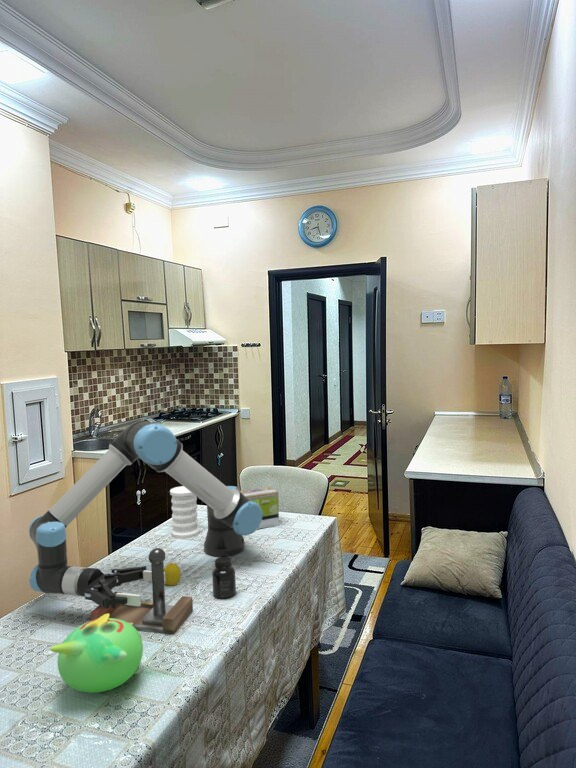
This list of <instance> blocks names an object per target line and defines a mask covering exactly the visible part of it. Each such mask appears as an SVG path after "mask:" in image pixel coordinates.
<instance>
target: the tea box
mask: <svg viewBox="0 0 576 768" xmlns="http://www.w3.org/2000/svg"><path fill="white" fill-rule="evenodd" d="M238 491H239V492H241V493H242V494H243V495H244V496H246V497H247V498H248V499H249V500H251V501H254V502H256V503H257V504H258V505H259V506H260V507H261V510H262V521H261V524H260V526H259V527H258V529H257V530H259V529H265V528H272V527H278V526H279V521H280V520H279V519H280V518H279V515H280V512H279V491H277V490H275V489H273V488H272V487H270V486H264V487H263V486H262V487H258V488H250V489H245V490H238ZM277 525H278V526H277Z"/></svg>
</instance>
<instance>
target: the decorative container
mask: <svg viewBox="0 0 576 768" xmlns="http://www.w3.org/2000/svg"><path fill="white" fill-rule="evenodd" d="M169 495H170V496H171V500H170V502H171V511H172V514H171V518H172V529H171V530H170V536H171V537H172V538H174V539H175V538H176V539H189V538H193V537H196V536H198V535H199V534H200V533H201V529H200V528H201V527H199V526H198V523H199V521H198V511H197V509H198V505H197V500H198V497H197V496H196V495H194V494H193V493H192V492H190V491H189V490H188V489H187V488H185V487H184V486H183V485H181V486H175V487H172V488H170V490H169Z"/></svg>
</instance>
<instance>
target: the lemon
mask: <svg viewBox="0 0 576 768" xmlns="http://www.w3.org/2000/svg"><path fill="white" fill-rule="evenodd" d="M164 572H165V582H164V585H166V586H167V587H168V586H169V587H171V586H172V587H173V586H176V585H179V583H180V580H181V578H182V577H181V576H182V573H181V569H180V567H179V565H178V564H177V563H174V562H170V563H168V564H166V565H165V566H164Z"/></svg>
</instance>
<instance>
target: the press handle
mask: <svg viewBox="0 0 576 768" xmlns="http://www.w3.org/2000/svg"><path fill="white" fill-rule="evenodd" d="M165 560H166V552H165V550H163V549H162V548H160V547H156V548H152V549H151V550H150V551H149V554H148V561H149V563H150V568H151V570H150V571H152V581H151V583H152V584H151V585H152V587H151V589H152V590H151V591H152V602H153V608H152V609H151V610H150V611H149V612H148V613H147V614H146V615H145V616H144V617H143V618H142V625H147V626H156V627H163V620H162V618H163V617H164V616H165V615H166V614H167V613H168V612H169V611H170V609H171V608H172V607H173V606H174V605H173V606H172V604H166V592H165V583H164V568H165V566H164V561H165Z"/></svg>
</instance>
